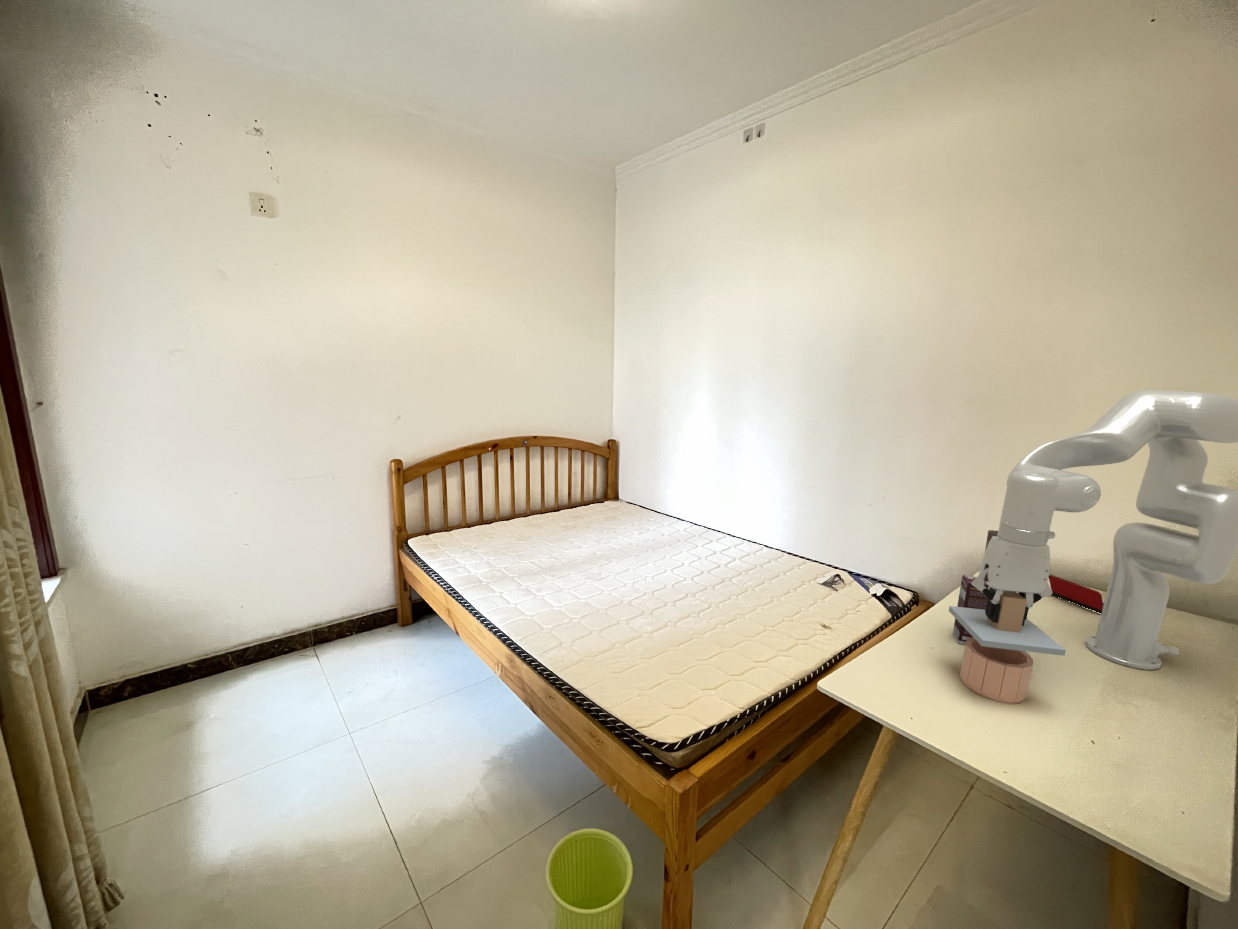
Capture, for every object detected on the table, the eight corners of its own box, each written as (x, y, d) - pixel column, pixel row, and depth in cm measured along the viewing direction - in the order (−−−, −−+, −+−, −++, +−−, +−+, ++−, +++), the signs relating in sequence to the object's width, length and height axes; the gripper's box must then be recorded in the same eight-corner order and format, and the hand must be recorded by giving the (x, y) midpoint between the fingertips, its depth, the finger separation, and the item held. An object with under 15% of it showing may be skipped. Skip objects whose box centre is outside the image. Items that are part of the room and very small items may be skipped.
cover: (1020, 618, 107) (1027, 583, 105) (1064, 655, 93) (1074, 615, 92) (948, 611, 109) (955, 576, 108) (981, 646, 96) (989, 606, 94)
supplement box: (991, 640, 121) (1004, 579, 118) (999, 651, 117) (1012, 588, 114) (950, 633, 124) (961, 574, 121) (956, 643, 120) (968, 582, 116)
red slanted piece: (1119, 612, 138) (1125, 587, 136) (1094, 618, 134) (1100, 592, 133) (1066, 592, 149) (1071, 569, 148) (1042, 597, 146) (1047, 573, 144)
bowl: (1006, 673, 108) (1013, 640, 107) (1037, 707, 98) (1046, 670, 96) (950, 666, 110) (956, 634, 109) (975, 699, 100) (982, 663, 98)
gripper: (1058, 532, 99) (1039, 617, 103) (965, 525, 102) (950, 607, 106) (1085, 546, 92) (1063, 636, 96) (984, 537, 95) (967, 625, 99)
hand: (1004, 620), depth 101 cm, fingers closed on cover, 4 cm apart
